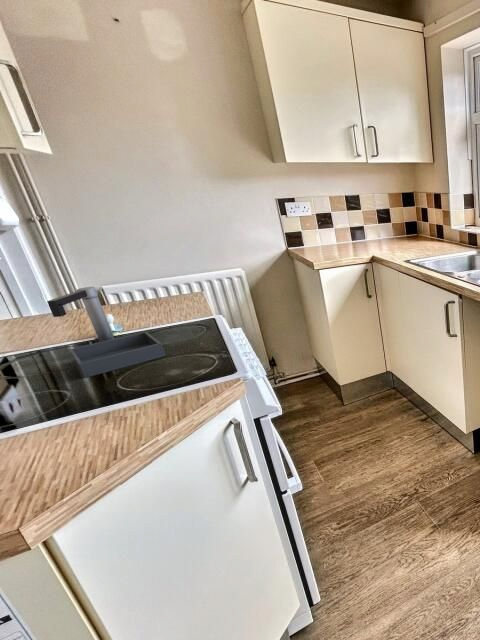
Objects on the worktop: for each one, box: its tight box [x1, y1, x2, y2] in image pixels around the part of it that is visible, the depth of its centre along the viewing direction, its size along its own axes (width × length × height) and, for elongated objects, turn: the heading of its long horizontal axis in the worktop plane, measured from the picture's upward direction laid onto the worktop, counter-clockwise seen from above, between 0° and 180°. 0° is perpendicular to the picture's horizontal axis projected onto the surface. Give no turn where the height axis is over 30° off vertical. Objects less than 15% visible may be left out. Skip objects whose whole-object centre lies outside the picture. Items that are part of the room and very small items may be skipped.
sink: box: [68, 331, 167, 379], centre depth 105 cm, size 15×14×4 cm
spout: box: [46, 286, 99, 318], centre depth 103 cm, size 3×13×4 cm, turn 11°
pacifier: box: [94, 313, 123, 339], centre depth 120 cm, size 7×6×6 cm
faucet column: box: [81, 296, 116, 342], centre depth 110 cm, size 6×6×14 cm
